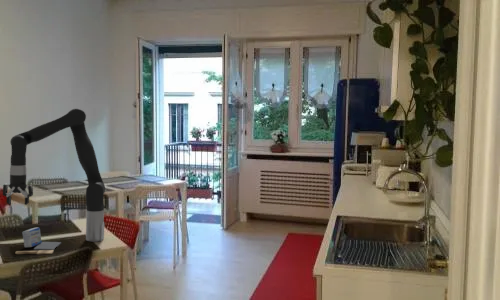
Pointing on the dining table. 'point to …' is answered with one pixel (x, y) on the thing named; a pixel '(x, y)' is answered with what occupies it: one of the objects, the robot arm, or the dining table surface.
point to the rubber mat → (47, 246)
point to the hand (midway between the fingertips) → (17, 204)
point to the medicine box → (32, 237)
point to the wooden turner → (35, 252)
